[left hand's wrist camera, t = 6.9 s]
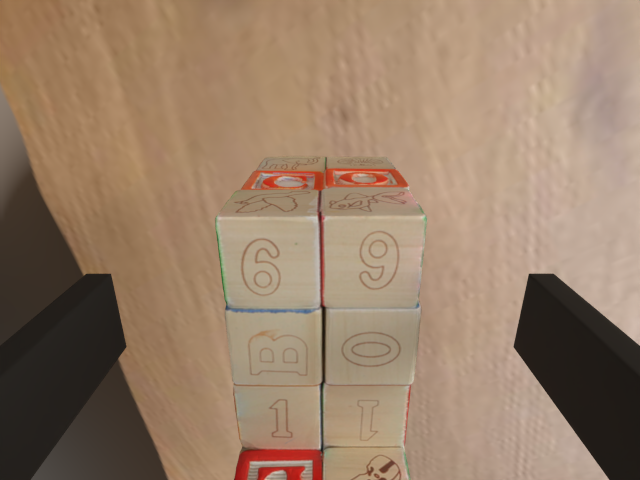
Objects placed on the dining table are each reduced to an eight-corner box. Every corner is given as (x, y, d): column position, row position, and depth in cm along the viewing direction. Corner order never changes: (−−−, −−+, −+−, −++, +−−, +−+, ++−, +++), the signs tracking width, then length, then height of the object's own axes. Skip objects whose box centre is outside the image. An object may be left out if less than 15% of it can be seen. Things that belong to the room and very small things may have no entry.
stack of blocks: (261, 154, 20) (176, 256, 9) (388, 154, 20) (472, 257, 9) (278, 466, 28) (246, 734, 17) (369, 466, 28) (400, 736, 17)
